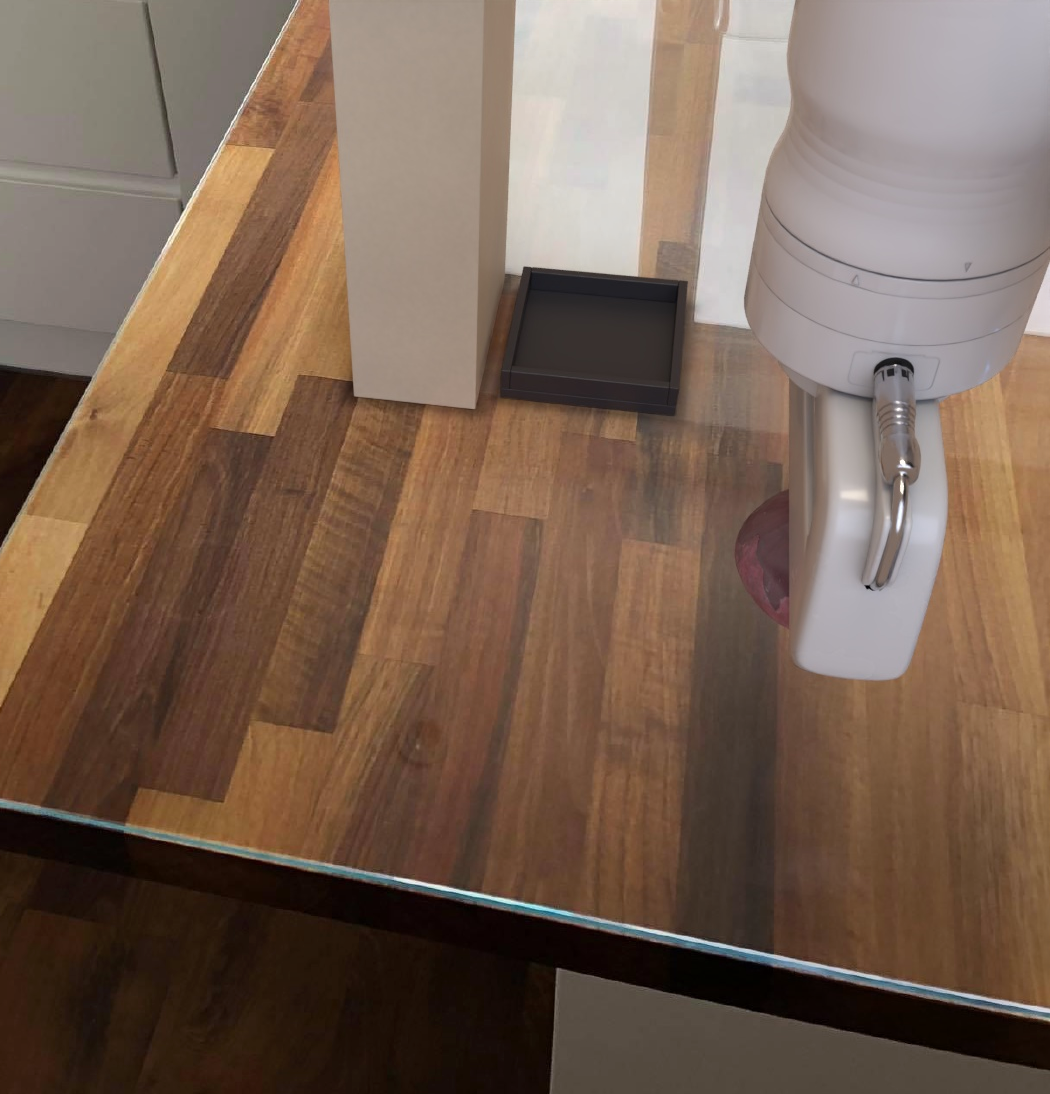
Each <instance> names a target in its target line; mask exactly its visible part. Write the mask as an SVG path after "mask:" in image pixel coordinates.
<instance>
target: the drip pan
mask: <svg viewBox="0 0 1050 1094" xmlns="http://www.w3.org/2000/svg"><path fill="white" fill-rule="evenodd" d="M688 285H689V281H688V280H681V279H680V280H678V279H671V278H670V279H668V278H657V277H645V276H636V275H624V274H614V273H613V274H612V273H603V272H593V271H581V270H569V269H561V268H560V269H559V268H549V267H537V266H527V265H526V266H525V265H524V266H523V267H522V271H521V276H520V281H519V285H518V290H517V294H516V299H515V304H514V309H513V312H512V317H511V322H510V327H509V332H508V337H507V342H506V346H505V350H504V351H505V352H504V355H503V361H502V364H501V370H500V387H499V388H500V390H499V397H500V398H504V399H512V400H513V399H514V400H522V401H531V402H540V403H549V404H550V403H551V404H559V405H567V406H568V405H570V406H577V407H588V408H598V409H605V410H615V411H626V412H636V413H644V414H645V413H646V414H654V415H665V416H673V417H675V416H676V411H677V405H678V399H679V394H680V386H681V372H682V359H683V347H684V337H685V324H686V310H687V299H688V298H687V297H688V287H689V286H688Z"/></svg>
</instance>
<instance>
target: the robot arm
mask: <svg viewBox="0 0 1050 1094" xmlns="http://www.w3.org/2000/svg"><path fill="white" fill-rule="evenodd" d="M789 27H790V28H789V33H788V39H787V48H786V68H787V76H788V83H789V91H790V106H789V112H788V116H787V120H786V123H785V127H784V129H783V130H782V132H781V134H780V136H779V138H778V139H777V141H776V144H775V145H774V147H773V149H772V151H771V154H770V156H769V159H768V162H767V165H766V168H765V173H764V178H763V185H762V189H761V198H760V201H759V202H760V203H759V209H758V214H757V221H756V227H755V233H754V238H753V241H752V242H753V243H752V248H751V254H750V260H749V265H748V272H747V278H746V283H745V284H746V285H745V290H744V295H743V309H744V313H745V314H744V315H745V318H746V321H747V324H748V326H749V328H750V330H751V332H752V335H754V337H755V338H756V340H757V341H758V343H759V344H760V345H761V346H762V347H763V348H764V349H765V351H766V352H767V353H768V354H770V355H771V356H772V357H773V358H774V359H775V360H776V361H777V363H778V364H779V366H780V368H781V370H782V371H783V372H784V373H785V375H786V376H787V378H788V489H789V629H788V630H789V632H788V634H789V640H788V641H789V645H788V646H789V655H790V659H791V662H792V663H793V664H794V666H795V667H797V668H799V669H800V670H803V671H806V672H809V673H812V674H816V675H821V676H825V677H832V678H839V679H845V680H857V681H869V682H882V681H883V682H885V681H893V680H896V679H899V678H900V677H902V676H903V675H904V674H905V673H906V672H907V670H908V669H909V667H910V665H911V662H912V661H913V657H914V653H915V651H916V647H917V645H918V641H919V637H920V635H921V631H922V628H923V625H924V621H925V618H926V614H927V611H928V607H929V603H930V600H931V596H932V593H933V590H934V586H935V584H936V583H935V582H936V579H937V575H938V571H939V568H940V564H941V559H942V555H943V550H944V544H945V538H946V532H947V524H948V514H949V513H948V512H949V485H948V472H947V465H946V456H945V447H944V436H943V427H942V419H941V411H940V409H941V408H940V403H942V402H944V401H945V400H947V399H948V398H950V397H952V396H954V395H958V394H961V393H963V392H966V391H969V390H972V389H974V388H977V387H979V386H981V385H983V384H985V383H986V382H988V381H990V380H992V379H993V378H994V377H996V376H997V375H998V374H1000V373H1001V372H1003V370H1004V369H1005V368H1007V366H1008V365H1010V362H1011V361H1012V360H1013V359H1014V358H1015V355H1016V353H1017V352H1018V350H1019V347H1020V344H1021V341H1022V339H1023V336H1024V333H1025V331H1026V328H1027V325H1028V322H1029V320H1030V317H1031V314H1032V311H1033V308H1034V306H1035V303H1036V301H1037V298H1038V294H1039V293H1040V290H1041V287H1042V284H1043V282H1044V279H1045V276H1046V274H1047V270H1048V268H1049V265H1050V0H794V6H793V10H792V17H791V21H790V26H789Z"/></svg>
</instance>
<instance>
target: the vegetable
mask: <svg viewBox="0 0 1050 1094" xmlns="http://www.w3.org/2000/svg"><path fill="white" fill-rule="evenodd" d="M734 563H735V566H736V570H737V572H738V573H737V574H738V575H739V578H740V580H741V583H742V584H743V586H744V588H745V590H746V591H747V593H748V595H749V596H750V597H751V599H752V600H753V601H754V602H755V604H756V605H757V606H758V608H760V609H761V611H762V612H764V614H766V615H767V616H768V617H769V618H770V619H771V620H773V621H774V622H775V623H777V624H779V625H780V626H782V627H784V628H786V629H787V630H789V488H788V489H785V490H782V491H781V492H778V493H775V494H774V495H772V496H770V497H769V498H767V499H765V501H764V502H762V503H761V504H760V505H759V506H758V507H757V508H755V509H754V510H753V511H752V512H751V513H750V514H749V515H748V517H747V518H746V519H745V521H744V522H743V524H742V525H741V527H740V528H739V530H738V532H737V536H736V539H735V543H734Z"/></svg>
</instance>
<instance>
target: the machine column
mask: <svg viewBox="0 0 1050 1094" xmlns="http://www.w3.org/2000/svg"><path fill="white" fill-rule="evenodd" d="M516 6H517V0H328V14H329V28H330V45H331V46H330V47H331V61H332V75H333V76H332V77H333V91H334V106H335V107H334V108H335V109H334V110H335V121H336V123H335V124H336V136H337V137H336V139H337V154H338V168H339V169H338V170H339V186H340V199H341V200H340V201H341V215H342V216H341V217H342V218H341V219H342V231H343V244H344V245H343V247H344V262H345V264H344V265H345V277H346V278H345V279H346V294H347V295H346V296H347V310H348V311H347V312H348V323H349V325H348V326H349V339H350V357H351V370H352V371H351V372H352V386H353V397H356V398H365V399H375V400H376V399H377V400H386V401H395V402H402V403H403V402H404V403H413V404H421V405H431V406H439V407H440V406H441V407H449V408H458V409H467V410H468V409H469V410H476V408H477V403H478V400H479V395H480V390H481V387H482V386H481V385H482V381H483V377H484V373H485V368H486V363H487V360H488V355H489V350H490V348H491V347H490V346H491V341H492V338H493V334H494V328H495V324H496V320H497V315H498V312H499V307H500V306H499V305H500V302H501V297H502V293H503V288H504V285H505V279H506V260H507V259H506V257H507V238H508V237H507V234H508V209H509V205H508V204H509V185H510V184H509V183H510V161H511V159H510V158H511V135H512V134H511V132H512V110H513V109H512V108H513V83H514V60H515V59H514V56H515V35H516V33H515V31H516Z"/></svg>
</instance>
